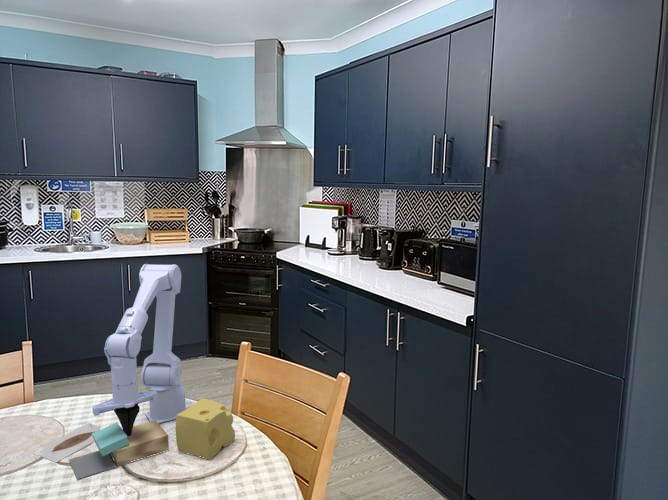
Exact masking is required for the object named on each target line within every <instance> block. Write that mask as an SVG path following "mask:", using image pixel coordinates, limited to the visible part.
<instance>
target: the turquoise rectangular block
mask: <svg viewBox="0 0 668 500" xmlns="http://www.w3.org/2000/svg"><path fill="white" fill-rule="evenodd" d="M120 425H121V424H120V423H118V422H115V423H113V424H111V425H108V426H105V427H103V428H100V430H99V431H96V432H94V433H92V436H93V439H94V442H93V443H95V445H96V447H97V449H98V451H100V452H101V454H102V456H105V455H107V454H109V455H110V453H111V452H113V451H115V450H117V449H119V448H121V447H123V446H125V445H128V444H129V441H128V438H127V435H126V434H125V433H124V431H123V430H122V426H120Z"/></svg>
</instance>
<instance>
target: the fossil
mask: <svg viewBox="0 0 668 500" xmlns="http://www.w3.org/2000/svg"><path fill="white" fill-rule="evenodd" d="M99 430H101V428H100V425H97V424H93V423H91V422H87V423H86V424H83V425H82V426H80V427H78V428H76V429H74V430H71V431H70V432H68V433H66V434H63V435H62V436H60V437H59V438H56V439H54V440H52V441H50V442H48V443H46V444H44V445H41V447H43V450H42V451H40V452H39V453H42V455H41V454H40V455H38V456H37V457H39V456H40V458H43V459H46V460H47V461H50V462H53V463H55V464H57V463H58V462H59V463H60V460H61V461H63V460H65V459H66V458H68V457H70V456H72V455H74V454H76V453H78V452H79V451H81V450H83V449H85V448H86V447H89V446H91V445H93V443H95V442H94V439H93V436H92V433H94V432H96V431H99ZM43 451H44V452H43ZM37 453H38V452H37ZM64 458H65V459H64ZM62 459H63V460H62Z"/></svg>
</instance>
